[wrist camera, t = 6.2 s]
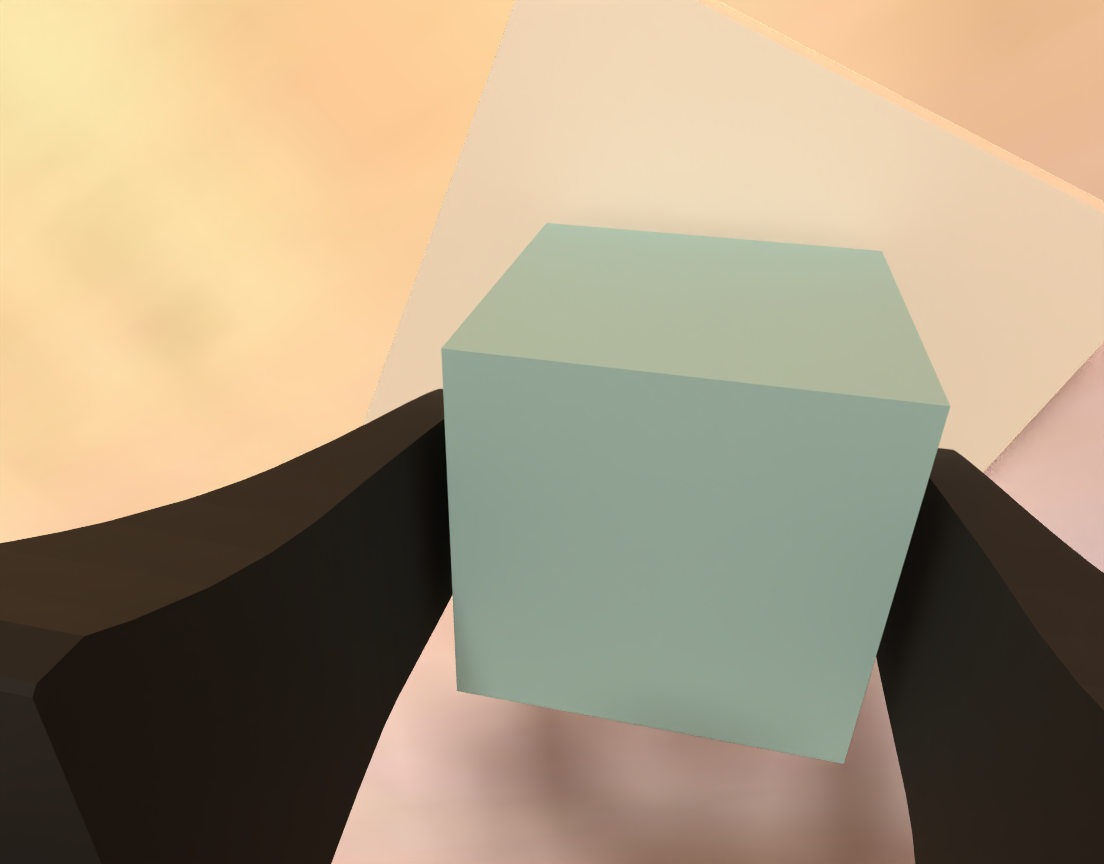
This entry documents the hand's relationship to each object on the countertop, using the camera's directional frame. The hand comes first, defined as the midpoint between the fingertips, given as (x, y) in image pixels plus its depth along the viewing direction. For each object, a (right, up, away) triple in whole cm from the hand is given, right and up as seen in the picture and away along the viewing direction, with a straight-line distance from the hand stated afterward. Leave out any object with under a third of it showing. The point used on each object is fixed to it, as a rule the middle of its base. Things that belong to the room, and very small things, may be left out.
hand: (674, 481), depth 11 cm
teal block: (+1, +1, +3) cm, 3 cm away
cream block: (+1, +3, +5) cm, 6 cm away
